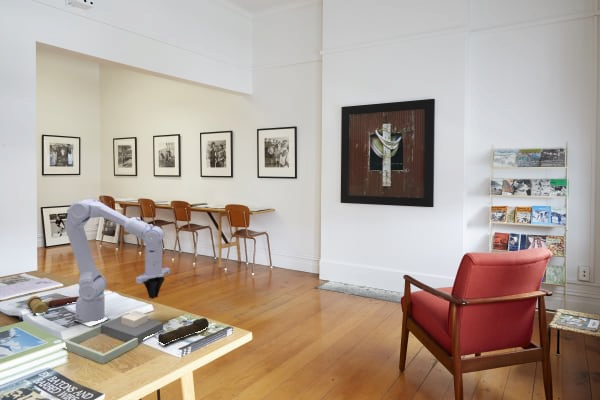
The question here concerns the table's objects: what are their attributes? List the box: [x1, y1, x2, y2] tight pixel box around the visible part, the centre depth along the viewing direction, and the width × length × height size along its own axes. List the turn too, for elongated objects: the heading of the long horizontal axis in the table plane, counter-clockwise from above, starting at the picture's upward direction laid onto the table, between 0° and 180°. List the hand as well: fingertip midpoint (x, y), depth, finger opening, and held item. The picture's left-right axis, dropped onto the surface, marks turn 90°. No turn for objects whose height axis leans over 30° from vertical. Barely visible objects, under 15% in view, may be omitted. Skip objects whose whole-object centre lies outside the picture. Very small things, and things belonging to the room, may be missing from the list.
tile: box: [121, 310, 149, 328], centre depth 140 cm, size 6×6×2 cm
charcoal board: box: [100, 312, 164, 345], centre depth 140 cm, size 16×12×3 cm
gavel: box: [26, 295, 80, 314], centre depth 158 cm, size 21×5×10 cm
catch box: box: [63, 325, 139, 365], centre depth 129 cm, size 18×13×2 cm
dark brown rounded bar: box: [158, 317, 210, 345], centre depth 139 cm, size 19×4×5 cm, turn 137°
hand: (153, 297), depth 147 cm, fingers closed
